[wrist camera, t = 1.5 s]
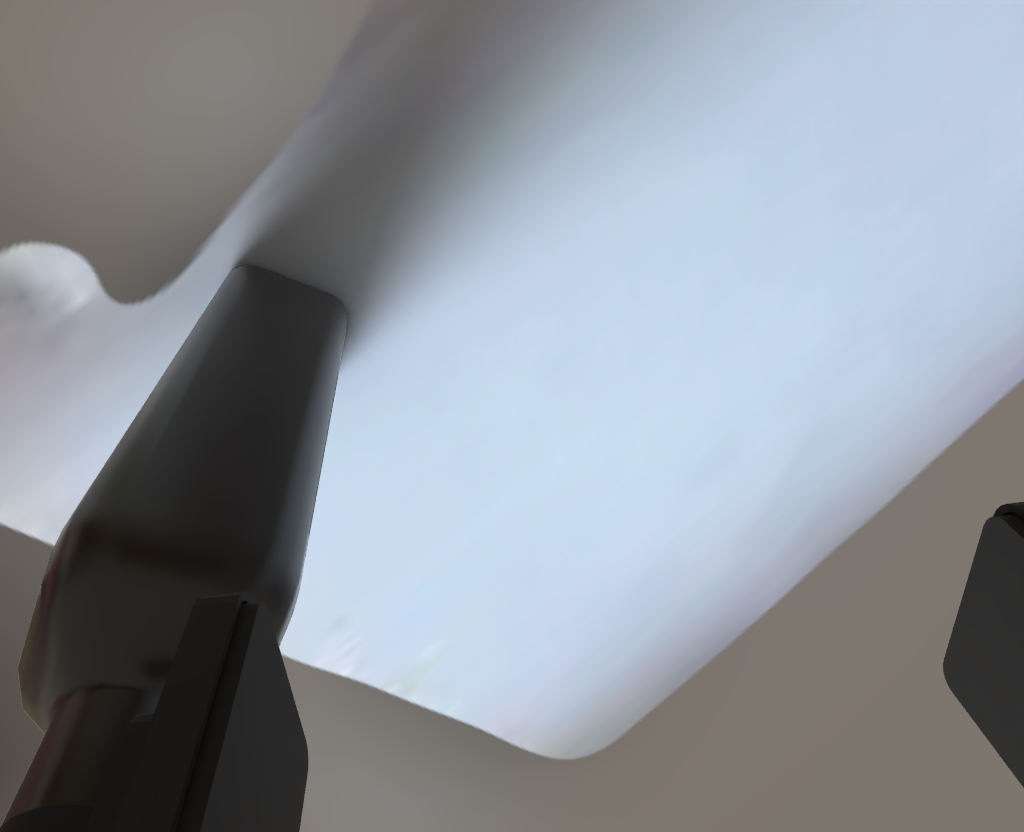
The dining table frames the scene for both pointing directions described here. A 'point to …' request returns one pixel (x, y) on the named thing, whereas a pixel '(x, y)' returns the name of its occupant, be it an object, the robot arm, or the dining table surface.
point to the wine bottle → (179, 529)
